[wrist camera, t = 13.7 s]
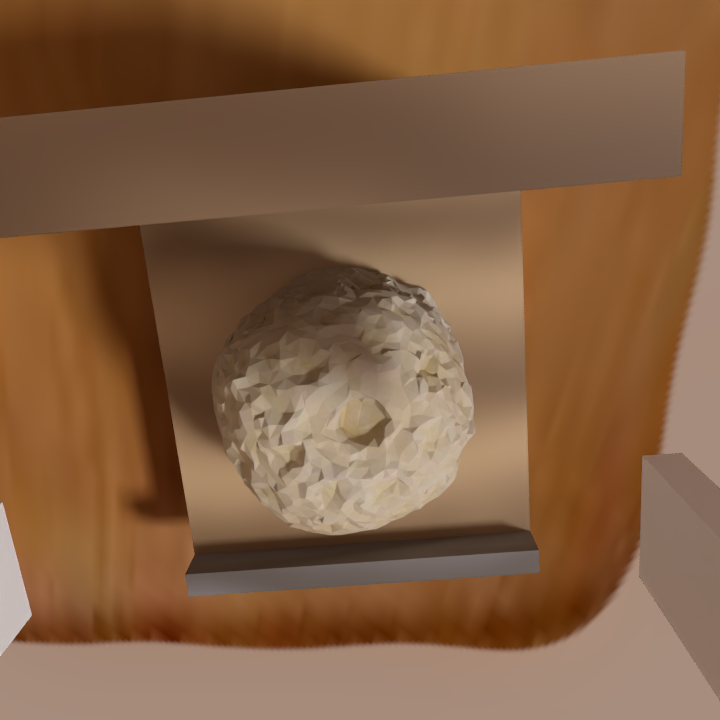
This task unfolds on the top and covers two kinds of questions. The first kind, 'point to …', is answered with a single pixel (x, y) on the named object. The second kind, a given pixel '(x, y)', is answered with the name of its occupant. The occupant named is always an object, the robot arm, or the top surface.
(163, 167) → the board
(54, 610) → the top surface
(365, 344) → the sponge
